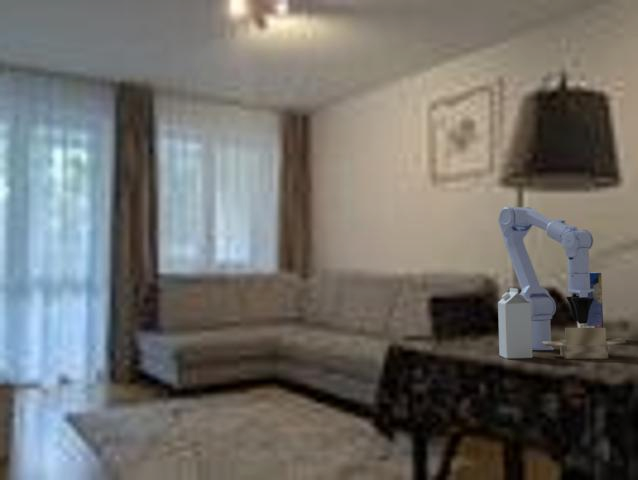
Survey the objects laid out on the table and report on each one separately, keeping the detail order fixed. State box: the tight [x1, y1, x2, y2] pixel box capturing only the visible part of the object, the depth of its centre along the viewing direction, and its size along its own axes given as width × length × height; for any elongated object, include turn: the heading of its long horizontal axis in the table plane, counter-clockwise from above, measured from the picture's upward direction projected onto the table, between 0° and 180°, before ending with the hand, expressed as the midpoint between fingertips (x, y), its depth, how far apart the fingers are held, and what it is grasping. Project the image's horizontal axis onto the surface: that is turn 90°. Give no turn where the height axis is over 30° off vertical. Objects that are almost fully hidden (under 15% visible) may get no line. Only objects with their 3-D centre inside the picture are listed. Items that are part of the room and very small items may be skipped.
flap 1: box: [564, 327, 607, 345], centre depth 189 cm, size 10×4×1 cm
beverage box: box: [576, 271, 604, 328], centre depth 233 cm, size 7×11×22 cm, turn 166°
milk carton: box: [497, 287, 533, 360], centre depth 196 cm, size 7×7×19 cm
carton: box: [542, 338, 609, 360], centre depth 196 cm, size 16×13×4 cm
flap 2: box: [606, 337, 627, 346], centre depth 192 cm, size 4×7×1 cm, turn 169°
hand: (580, 322), depth 197 cm, fingers open, 7 cm apart
